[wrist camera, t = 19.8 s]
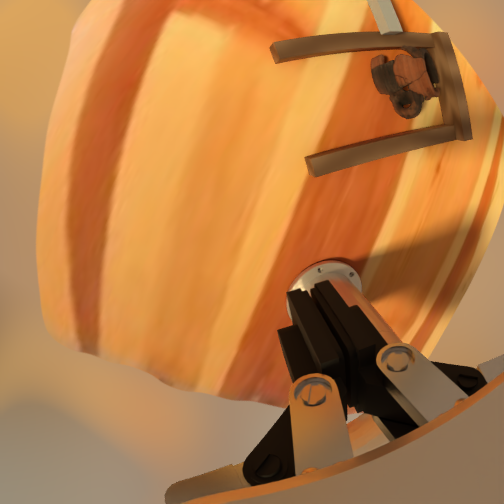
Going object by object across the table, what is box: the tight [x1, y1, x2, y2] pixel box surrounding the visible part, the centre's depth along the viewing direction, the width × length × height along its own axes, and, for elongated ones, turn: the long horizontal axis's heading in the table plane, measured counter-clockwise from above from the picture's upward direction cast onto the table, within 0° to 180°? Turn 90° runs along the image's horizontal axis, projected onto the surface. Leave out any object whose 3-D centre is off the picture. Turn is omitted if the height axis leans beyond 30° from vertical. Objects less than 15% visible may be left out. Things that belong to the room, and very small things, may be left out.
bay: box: [270, 32, 473, 177], centre depth 31 cm, size 18×28×4 cm, turn 108°
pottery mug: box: [371, 45, 440, 119], centre depth 31 cm, size 12×10×8 cm
